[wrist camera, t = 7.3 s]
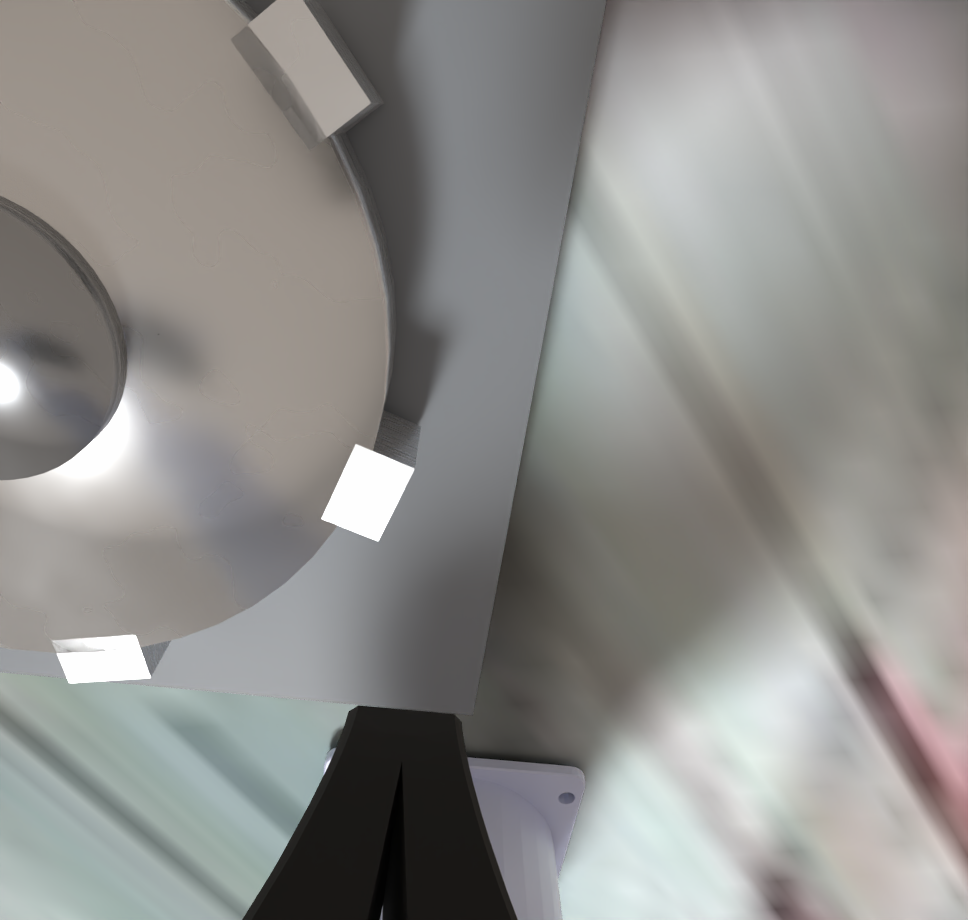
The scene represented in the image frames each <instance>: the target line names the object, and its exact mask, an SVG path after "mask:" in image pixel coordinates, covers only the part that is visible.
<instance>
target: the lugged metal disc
mask: <svg viewBox="0 0 968 920" xmlns="http://www.w3.org/2000/svg"><path fill="white" fill-rule="evenodd" d="M383 103H384V101H383V100H382V98H381V97H380V95H379V94H378V92H377V91H376V89H375V88H374V86H373V85H372V83H371V82H370V80H369V79H368V77H367V75H366V74H365V72H364V71H363V69H362V68H361V66H360V65H359V63H358V62H357V60H356V59H355V57H354V56H353V54H352V53H351V51H350V50H349V48H348V46H347V45H346V43H345V42H344V40H343V39H342V37H341V36H340V34H339V33H338V31H337V30H336V28H335V27H334V25H333V24H332V22H331V20H330V19H329V17H328V16H327V14H326V13H325V11H324V10H323V8H322V7H321V5H320V4H319V3H318V2H317V1H315V0H276V1H275V2H274V3H272V4H271V5H270V6H269V7H268V8H267V9H265V10H264V11H263V12H262V13H261V14H260V15H259V14H258V13H257V12H256V11H255V10H254V9H253V8H252V7H251V6H250V5H249V4H248V3H247V2H246V1H245V0H0V647H2V648H7V649H15V650H27V651H39V652H50V653H57V656H58V658H59V660H60V663H61V665H62V667H63V670H64V672H65V675H66V677H67V679H68V682H69V683H82V682H98V681H113V680H128V679H144V678H151V677H152V675H153V673H154V671H155V669H156V667H157V666H158V664H159V662H160V660H161V658H162V656H163V655H164V653H165V651H166V649H167V647H168V646H169V644H170V642H171V640H174V639H178V638H182V637H185V636H187V635H190V634H193V633H196V632H198V631H201V630H204V629H207V628H209V627H212V626H215V625H217V624H219V623H221V622H223V621H225V620H227V619H229V618H231V617H233V616H235V615H237V614H239V613H241V612H243V611H245V610H247V609H248V608H250V607H252V606H254V605H255V604H257V603H258V602H259V601H261V600H262V599H264V598H265V597H267V596H268V595H269V594H271V593H272V592H274V591H275V590H277V589H278V588H279V587H281V586H282V585H284V584H285V583H286V582H287V581H288V580H289V579H290V578H291V577H292V576H293V575H294V574H295V573H297V572H298V571H299V570H300V569H301V568H302V567H303V566H304V565H305V564H306V563H307V562H308V561H309V560H310V559H311V558H312V557H313V556H314V555H315V554H316V553H317V551H318V550H319V549H320V547H321V546H322V545H323V544H324V542H325V541H326V540H327V539H328V537H329V536H330V535H331V533H332V532H333V531H334V530H335V528H336V527H337V526H341V527H343V528H346V529H348V530H351V531H353V532H356V533H358V534H361V535H363V536H366V537H369V538H371V539H374V540H376V541H379V539H380V537H381V535H382V533H383V531H384V529H385V527H386V525H387V523H388V521H389V519H390V517H391V515H392V513H393V511H394V509H395V507H396V505H397V503H398V501H399V499H400V497H401V495H402V493H403V491H404V489H405V487H406V485H407V483H408V481H409V479H410V477H411V475H412V473H413V472H414V470H415V464H416V457H417V450H418V443H419V436H420V429H421V426H419V425H416V424H414V423H412V422H409V421H407V420H405V419H402V418H400V417H398V416H396V415H393V414H391V413H389V412H386V411H384V407H385V403H386V398H387V394H388V389H389V385H390V380H391V376H392V372H393V362H394V350H395V337H396V311H395V292H394V279H393V274H392V268H391V263H390V257H389V252H388V247H387V241H386V236H385V231H384V228H383V225H382V222H381V219H380V216H379V213H378V209H377V206H376V203H375V200H374V197H373V194H372V190H371V187H370V184H369V182H368V180H367V177H366V175H365V173H364V171H363V169H362V166H361V164H360V162H359V160H358V158H357V155H356V153H355V151H354V149H353V147H352V144H351V142H350V140H349V138H348V136H347V133H346V132H347V131H348V130H350V129H351V128H352V127H354V126H355V125H356V124H358V123H359V122H360V121H361V120H363V119H364V118H365V117H367V116H368V115H369V114H370V113H372V112H373V111H374V110H376V109H377V108H378V107H380V106H381V105H382V104H383Z"/></svg>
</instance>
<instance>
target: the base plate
mask: <svg viewBox="0 0 968 920" xmlns="http://www.w3.org/2000/svg"><path fill="white" fill-rule="evenodd" d="M245 1H246V2H247V3H248V4H249V5H250V6H251V7H252V8H253V9H254V10H255V11H256V12H257V13H258V14H259V15H260V14H261V13H262V12H263V11H264V10H265V9H267V8H268V7H269V6H270V5H271V4H272V3H274V2H275V1H276V0H245ZM315 1H317V2H318V3H319V4H320V5H321V7H322V8H323V10H324V11H325V13H326V14H327V16H328V17H329V19H330V20H331V22H332V24H333V25H334V27H335V28H336V30H337V31H338V33H339V34H340V36H341V37H342V39H343V40H344V42H345V43H346V45H347V46H348V48H349V50H350V51H351V53H352V54H353V56H354V57H355V59H356V60H357V62H358V63H359V65H360V66H361V68H362V69H363V71H364V72H365V74H366V75H367V77H368V79H369V80H370V82H371V83H372V85H373V86H374V88H375V89H376V91H377V92H378V94H379V95H380V97H381V98H382V100H383V101H384V103H383V104H382V105H381V106H380V107H378V108H377V109H376V110H374V111H373V112H372V113H370V114H369V115H368V116H367V117H365V118H364V119H363V120H361V121H360V122H359V123H358V124H356V125H355V126H354V127H352V128H351V129H350V130H348V131H347V132H346V133H347V136H348V138H349V140H350V142H351V144H352V147H353V149H354V151H355V153H356V155H357V158H358V160H359V162H360V164H361V166H362V169H363V171H364V173H365V175H366V177H367V180H368V182H369V184H370V187H371V190H372V194H373V197H374V200H375V203H376V206H377V209H378V213H379V216H380V219H381V222H382V225H383V228H384V231H385V236H386V241H387V247H388V252H389V257H390V263H391V268H392V274H393V279H394V292H395V311H396V337H395V350H394V362H393V372H392V376H391V380H390V385H389V389H388V394H387V398H386V403H385V407H384V411H386V412H389V413H391V414H393V415H396V416H398V417H400V418H402V419H405V420H407V421H409V422H412V423H414V424H416V425H419V426H421V429H420V436H419V443H418V450H417V457H416V464H415V470H414V472H413V473H412V475H411V477H410V479H409V481H408V483H407V485H406V487H405V489H404V491H403V493H402V495H401V497H400V499H399V501H398V503H397V505H396V507H395V509H394V511H393V513H392V515H391V517H390V519H389V521H388V523H387V525H386V527H385V529H384V531H383V533H382V535H381V537H380V539H379V541H376V540H374V539H371V538H369V537H366V536H363V535H361V534H358V533H356V532H353V531H351V530H348V529H346V528H343V527H341V526H337V527H336V528H335V530H334V531H333V532H332V533H331V535H330V536H329V537H328V539H327V540H326V541H325V542H324V544H323V545H322V546H321V547H320V549H319V550H318V551H317V553H316V554H315V555H314V556H313V557H312V558H311V559H310V560H309V561H308V562H307V563H306V564H305V565H304V566H303V567H302V568H301V569H300V570H299V571H298V572H297V573H295V574H294V575H293V576H292V577H291V578H290V579H289V580H288V581H287V582H286V583H285V584H284V585H282V586H281V587H279V588H278V589H277V590H275V591H274V592H272V593H271V594H269V595H268V596H267V597H265V598H264V599H262V600H261V601H259V602H258V603H257V604H255V605H254V606H252V607H250V608H248V609H247V610H245V611H243V612H241V613H239V614H237V615H235V616H233V617H231V618H229V619H227V620H225V621H223V622H221V623H219V624H217V625H215V626H212V627H209V628H207V629H204V630H201V631H198V632H196V633H193V634H190V635H187V636H185V637H182V638H178V639H174V640H171V642H170V644H169V646H168V647H167V649H166V651H165V653H164V655H163V656H162V658H161V660H160V662H159V664H158V666H157V667H156V669H155V671H154V673H153V675H152V677H151V678H144V679H128V680H113V681H103V682H113V683H124V684H135V685H146V686H157V687H168V688H179V689H190V690H201V691H212V692H223V693H234V694H245V695H256V696H267V697H278V698H289V699H300V700H311V701H322V702H333V703H344V704H355V705H366V706H377V707H387V708H398V709H409V710H420V711H431V712H442V713H453V714H464V715H473V712H474V707H475V702H476V696H477V691H478V686H479V680H480V675H481V670H482V664H483V659H484V653H485V648H486V643H487V637H488V632H489V627H490V621H491V616H492V611H493V605H494V600H495V595H496V589H497V584H498V579H499V573H500V568H501V563H502V557H503V552H504V547H505V541H506V536H507V531H508V525H509V520H510V514H511V509H512V504H513V498H514V493H515V488H516V482H517V477H518V472H519V466H520V461H521V456H522V450H523V445H524V440H525V434H526V429H527V424H528V418H529V413H530V408H531V402H532V397H533V391H534V386H535V381H536V375H537V370H538V365H539V359H540V354H541V349H542V343H543V338H544V333H545V327H546V322H547V317H548V311H549V306H550V301H551V295H552V290H553V285H554V279H555V274H556V269H557V263H558V258H559V252H560V247H561V242H562V236H563V231H564V226H565V220H566V215H567V210H568V204H569V199H570V194H571V188H572V183H573V178H574V172H575V167H576V162H577V156H578V151H579V146H580V140H581V135H582V130H583V124H584V119H585V113H586V108H587V103H588V97H589V92H590V87H591V81H592V76H593V71H594V65H595V60H596V55H597V49H598V44H599V39H600V33H601V28H602V23H603V17H604V12H605V7H606V1H607V0H315ZM0 672H4V673H15V674H26V675H37V676H48V677H59V678H67V677H66V675H65V672H64V670H63V667H62V665H61V663H60V660H59V658H58V656H57V653H50V652H39V651H27V650H15V649H7V648H2V647H0Z"/></svg>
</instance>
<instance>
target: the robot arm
mask: <svg viewBox="0 0 968 920" xmlns="http://www.w3.org/2000/svg"><path fill="white" fill-rule="evenodd" d="M584 790H585V777H584V774H583V772H582V770H580V769H578V768H577V767H572V766H563V765H552V764H540V763H529V762H517V761H505V760H494V759H482V758H471V757H467V754H466V749H465V743H464V738H463V731H462V722H461V721H460V720H459V719H458V718H457V717H456V716H455V715H454V714H446V713H435V712H424V711H413V710H402V709H391V708H380V707H369V706H357V707H355V708H354V709H352V710H351V711H349V713H348V716H347V719H346V723H345V726H344V729H343V732H342V734H341V737H340V739H339V742H338V744H337V747H336V748H333V749H331V750H330V751H329V752H328V753H327V756H326V759H325V764H324V776H323V778H322V780H321V782H320V784H319V786H318V788H317V790H316V792H315V794H314V796H313V798H312V800H311V802H310V804H309V806H308V808H307V810H306V812H305V813H304V815H303V817H302V819H301V821H300V823H299V824H298V826H297V828H296V830H295V832H294V834H293V835H292V837H291V839H290V841H289V843H288V844H287V846H286V848H285V850H284V852H283V854H282V855H281V857H280V859H279V861H278V862H277V864H276V866H275V868H274V869H273V871H272V873H271V874H270V876H269V878H268V879H267V881H266V882H265V884H264V886H263V887H262V889H261V891H260V892H259V894H258V895H257V897H256V899H255V900H254V902H253V903H252V905H251V907H250V908H249V910H248V911H247V913H246V915H245V916H244V918H243V919H242V920H563V919H562V911H561V902H560V894H559V885H558V878H559V875H560V871H561V868H562V865H563V861H564V858H565V854H566V851H567V848H568V844H569V841H570V838H571V834H572V831H573V827H574V824H575V821H576V817H577V814H578V811H579V807H580V804H581V800H582V797H583V794H584ZM566 792H568V793H566Z"/></svg>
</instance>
